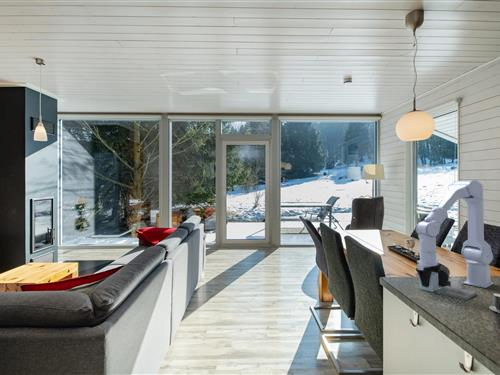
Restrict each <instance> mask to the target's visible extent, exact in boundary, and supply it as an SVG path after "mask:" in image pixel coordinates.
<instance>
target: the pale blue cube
mask: <svg viewBox="0 0 500 375" xmlns="http://www.w3.org/2000/svg"><path fill="white" fill-rule="evenodd" d="M418 289H419V290H422V291H427V292H430V293H434V292H436V291H437V290H439V289H440V288H439V285H438V273H436V272H432V273H431V276H430V281H429V287H424V286H422V283H421V280H420V277H419V276H418Z"/></svg>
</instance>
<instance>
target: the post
mask: <svg viewBox="0 0 500 375" xmlns="http://www.w3.org/2000/svg"><path fill="white" fill-rule="evenodd" d="M450 286H451V291H453V292H457V293H459V292H461V289H462V278H461V277H456V276H452V277H450Z"/></svg>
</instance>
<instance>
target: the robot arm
mask: <svg viewBox="0 0 500 375" xmlns="http://www.w3.org/2000/svg"><path fill="white" fill-rule="evenodd" d="M460 199H462V200H464V202H466V204H467V240H465V241H464V242H463V243H462V248H461V257H462V258H463V259H464V262H466V280H465V281H463V283H462V284H464V285H470V286H473V287H479V288H484V289H486V288H488V287H490V286H492V285H493V284H494V283H493V282H491V268H490V263H492V262H493V259H494V254H493V252H492V246H491V245H490V244H489V243H488V242H487V241H486V240H485V233H484V232H485V231H484V230H485V228H484V227H485V226H484V225H485V222H484V219H485V218H484V217H485V216H484V213H485V212H484V186H483V184H482V183H481V182H479V181H478V180H476V179H473V180H454V181H452V182H451V183H450V185H449V186H448V192H447V193H446V195H445V196H444V198H443V200H442V201H441V203H440V204H439V206H435V207H433V208H432V209H430V212H429V213H428V214H427V216H426V217H425V218H424V220H422V221H420V222H418V223H417V225H416V227H415V232H416V234H417V235H418V236H417V237H418V239H419V260H416V263H417V265H416V267H415V271H416V272H417V274H418V278H419V277H420V280H421V283H422V286H424V287H429V281H430V276H431V273H432V272H436V273H438V272H439V270H440V266H441V265H440V266H439V264H440V263H439V260H438V259H437V238H436V237H437V236H438V235H439V234H440V228H441V225H442V224H443V222H444V221H445V220H446V219H447V218H448V215H449V213H448V211H449V210H450V208H452V207H453V206H454V205H455V203H456V202H458V200H460Z"/></svg>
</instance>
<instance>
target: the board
mask: <svg viewBox="0 0 500 375" xmlns="http://www.w3.org/2000/svg"><path fill="white" fill-rule="evenodd" d="M435 292H436V294H438V295H441V296H446V297H450V298H455V299H460V300H463V301H468V300H469V299H471V298H473V297H475V296H476V295H477V291H476V290H469V289H464V288H461V292H459V293H457V292H453V291H451V285H445V286H443V287H442V288H439V289H438V290H436V291H435Z"/></svg>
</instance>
